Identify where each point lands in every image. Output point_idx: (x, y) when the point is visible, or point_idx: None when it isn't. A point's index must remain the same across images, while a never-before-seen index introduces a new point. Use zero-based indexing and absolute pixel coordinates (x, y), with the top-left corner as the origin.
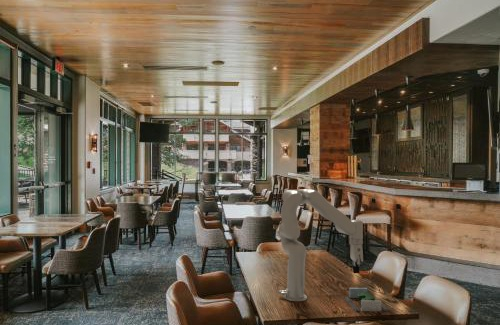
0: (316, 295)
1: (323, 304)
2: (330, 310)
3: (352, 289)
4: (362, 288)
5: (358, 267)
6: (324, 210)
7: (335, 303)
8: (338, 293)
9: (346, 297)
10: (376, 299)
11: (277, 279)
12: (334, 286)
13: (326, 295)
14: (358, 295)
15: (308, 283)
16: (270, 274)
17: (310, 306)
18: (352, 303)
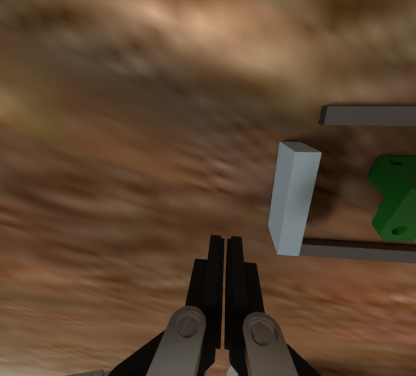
0: None
1: (341, 329)
2: (412, 329)
3: (299, 241)
4: (305, 184)
5: (246, 298)
6: None
7: (340, 295)
8: None
9: (305, 251)
10: (379, 109)
11: (68, 364)
12: (107, 233)
13: None
14: (401, 239)
15: (88, 305)
16: (19, 366)
17: (350, 362)
18: (399, 256)
